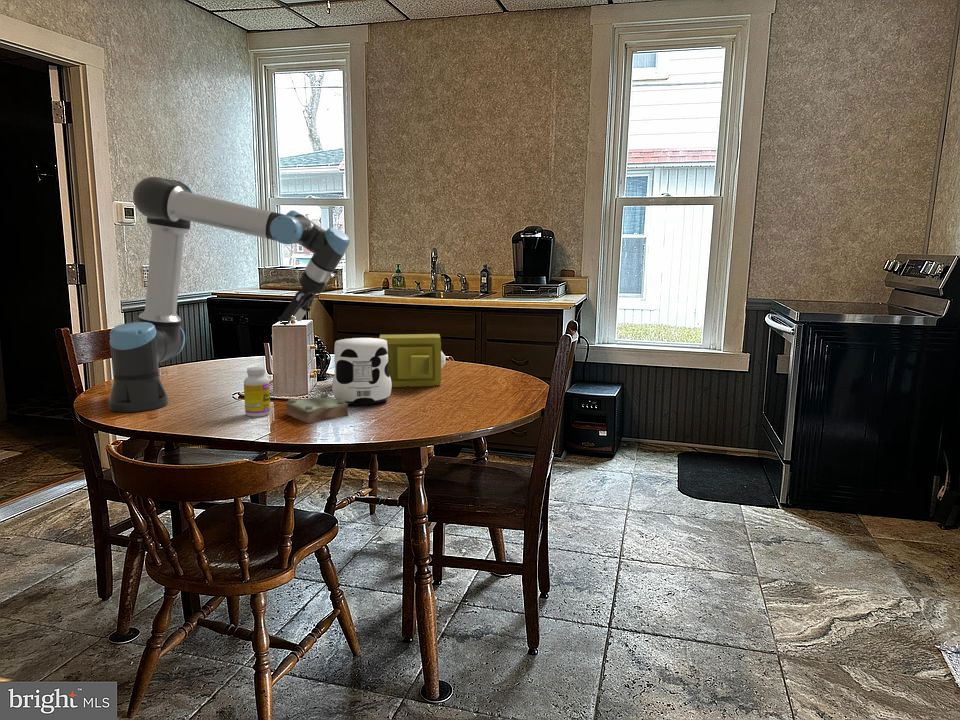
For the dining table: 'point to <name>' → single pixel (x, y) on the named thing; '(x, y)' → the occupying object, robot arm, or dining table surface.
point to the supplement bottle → (257, 393)
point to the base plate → (317, 408)
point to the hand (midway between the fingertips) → (284, 331)
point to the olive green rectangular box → (414, 359)
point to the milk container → (361, 371)
